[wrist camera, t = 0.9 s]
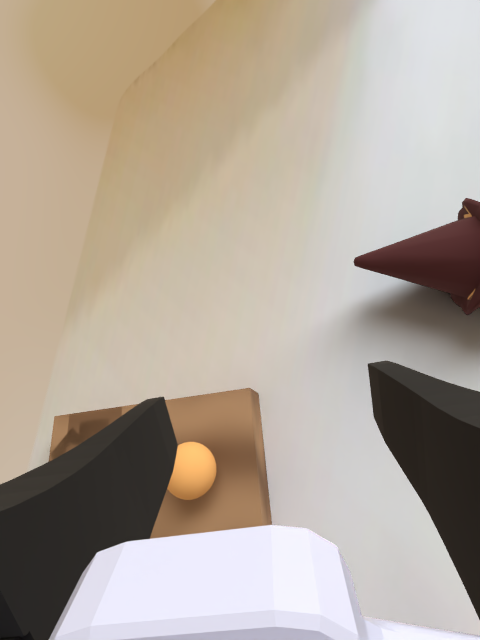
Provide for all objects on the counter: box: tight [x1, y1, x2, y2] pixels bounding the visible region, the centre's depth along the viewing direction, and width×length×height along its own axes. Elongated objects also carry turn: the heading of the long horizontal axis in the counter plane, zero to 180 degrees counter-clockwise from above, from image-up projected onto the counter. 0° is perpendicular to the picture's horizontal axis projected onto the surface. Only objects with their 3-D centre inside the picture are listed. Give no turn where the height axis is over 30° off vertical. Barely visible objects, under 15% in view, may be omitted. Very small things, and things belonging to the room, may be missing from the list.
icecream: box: [354, 198, 480, 315], centre depth 22 cm, size 7×8×15 cm
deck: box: [49, 388, 272, 539], centre depth 25 cm, size 10×17×2 cm, turn 95°
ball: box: [167, 442, 216, 500], centre depth 22 cm, size 3×3×3 cm
